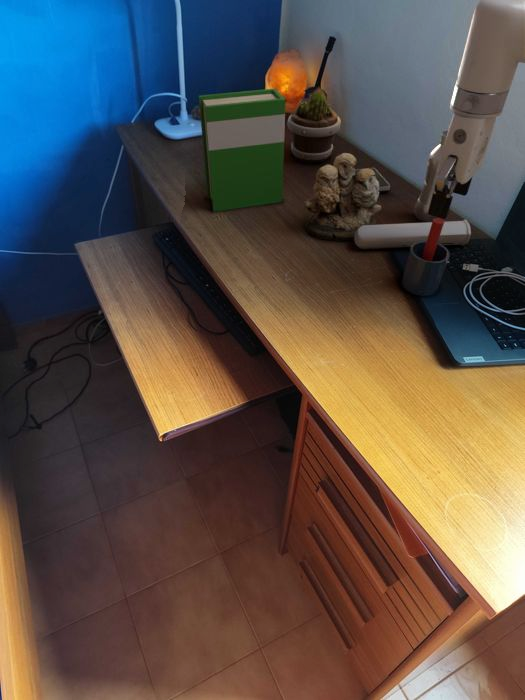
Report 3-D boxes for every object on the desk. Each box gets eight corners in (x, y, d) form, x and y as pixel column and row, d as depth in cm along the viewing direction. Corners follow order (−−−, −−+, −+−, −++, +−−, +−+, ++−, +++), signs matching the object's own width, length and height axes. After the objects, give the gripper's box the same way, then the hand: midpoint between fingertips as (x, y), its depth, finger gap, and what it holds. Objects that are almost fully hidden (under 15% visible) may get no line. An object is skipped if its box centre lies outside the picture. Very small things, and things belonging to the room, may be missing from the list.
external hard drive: (373, 174, 128) (374, 167, 127) (389, 193, 121) (391, 186, 119) (349, 177, 127) (350, 170, 126) (364, 196, 120) (365, 189, 118)
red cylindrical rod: (426, 281, 94) (446, 220, 84) (422, 286, 93) (442, 224, 83) (416, 277, 95) (435, 216, 85) (412, 282, 94) (431, 221, 84)
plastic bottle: (422, 208, 116) (446, 125, 101) (445, 220, 112) (473, 135, 97) (406, 217, 113) (428, 133, 98) (429, 229, 109) (455, 143, 95)
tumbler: (443, 282, 95) (455, 249, 89) (429, 300, 91) (440, 267, 85) (410, 269, 98) (419, 236, 92) (395, 286, 94) (404, 253, 88)
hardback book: (213, 211, 114) (205, 107, 97) (207, 197, 119) (198, 95, 102) (281, 201, 118) (285, 99, 100) (273, 188, 123) (275, 88, 105)
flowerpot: (285, 145, 141) (288, 71, 127) (335, 146, 141) (344, 72, 127) (284, 166, 131) (288, 89, 117) (339, 167, 131) (349, 90, 117)
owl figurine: (308, 245, 104) (315, 171, 92) (296, 218, 112) (300, 147, 100) (384, 237, 107) (400, 164, 94) (366, 211, 115) (379, 140, 102)
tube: (358, 239, 99) (473, 234, 100) (354, 220, 101) (466, 215, 102) (353, 255, 104) (463, 249, 105) (350, 235, 106) (457, 231, 107)
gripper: (484, 123, 63) (450, 233, 75) (521, 87, 73) (485, 190, 85) (431, 111, 66) (406, 219, 79) (473, 79, 76) (445, 179, 88)
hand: (447, 204), depth 82 cm, fingers open, 9 cm apart
